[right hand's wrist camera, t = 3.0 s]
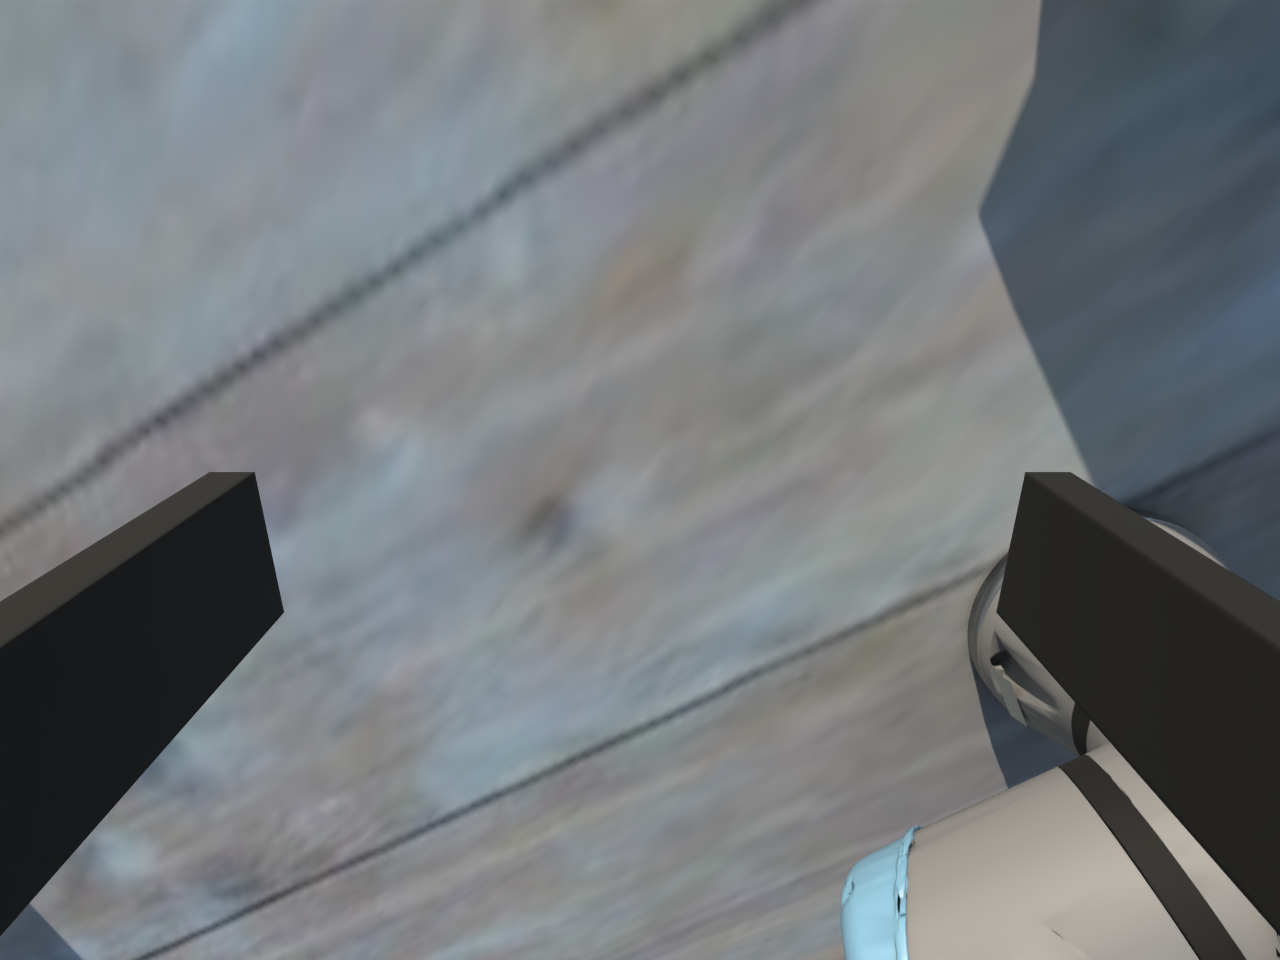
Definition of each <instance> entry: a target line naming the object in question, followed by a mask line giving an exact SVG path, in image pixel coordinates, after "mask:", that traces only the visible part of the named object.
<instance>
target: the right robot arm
mask: <svg viewBox="0 0 1280 960" xmlns="http://www.w3.org/2000/svg"><path fill="white" fill-rule="evenodd" d="M283 613H284V610H283V606H282V601H281V596H280V591H279V587H278V582H277V577H276V572H275V567H274V563H273V558H272V553H271V548H270V544H269V539H268V534H267V529H266V524H265V520H264V515H263V510H262V505H261V501H260V496H259V491H258V486H257V481H256V477H255V472H209V473H208V474H206V475H204V476H203V477H201V478H199V479H198V480H196V481H195V482H193V483H191V484H190V485H188V486H187V487H185V488H183V489H182V490H180V491H178V492H177V493H175V494H174V495H172V496H170V497H169V498H167V499H166V500H164V501H162V502H161V503H159V504H157V505H156V506H154V507H153V508H151V509H149V510H148V511H146V512H145V513H143V514H141V515H140V516H138V517H136V518H135V519H133V520H132V521H130V522H128V523H127V524H125V525H124V526H122V527H120V528H119V529H117V530H115V531H114V532H112V533H111V534H109V535H107V536H106V537H104V538H102V539H101V540H99V541H98V542H96V543H94V544H93V545H91V546H90V547H88V548H86V549H85V550H83V551H81V552H80V553H78V554H77V555H75V556H73V557H72V558H70V559H69V560H67V561H65V562H64V563H62V564H60V565H59V566H57V567H56V568H54V569H52V570H51V571H49V572H48V573H46V574H44V575H43V576H41V577H39V578H38V579H36V580H35V581H33V582H31V583H30V584H28V585H26V586H25V587H23V588H22V589H20V590H18V591H17V592H15V593H14V594H12V595H10V596H9V597H7V598H5V599H4V600H2V601H1V602H0V936H1V935H2V933H3V932H4V931H5V930H6V929H7V928H8V927H9V926H10V924H11V923H12V922H13V921H14V920H15V919H16V918H17V916H18V915H19V914H20V913H21V912H22V911H23V910H24V908H25V907H26V906H27V905H28V904H29V903H30V902H31V900H32V899H33V898H34V897H35V896H36V895H37V894H38V892H39V891H40V890H41V889H42V888H43V887H44V886H45V884H46V883H47V882H48V881H49V880H50V879H51V878H52V876H53V875H54V874H55V873H56V872H57V871H58V870H59V868H60V867H61V866H62V865H63V864H64V863H65V862H66V860H67V859H68V858H69V857H70V856H71V855H72V854H73V852H74V851H75V850H76V849H77V848H78V847H79V846H80V844H81V843H82V842H83V841H84V840H85V839H86V838H87V837H88V835H89V834H90V833H91V832H92V831H93V830H94V829H95V827H96V826H97V825H98V824H99V823H100V822H101V821H102V819H103V818H104V817H105V816H106V815H107V814H108V813H109V811H110V810H111V809H112V808H113V807H114V806H115V805H116V803H117V802H118V801H119V800H120V799H121V798H122V797H123V795H124V794H125V793H126V792H127V791H128V790H129V789H130V787H131V786H132V785H133V784H134V783H135V782H136V781H137V779H138V778H139V777H140V776H141V775H142V774H143V773H144V771H145V770H146V769H147V768H148V767H149V766H150V765H151V763H152V762H153V761H154V760H155V759H156V758H157V757H158V755H159V754H160V753H161V752H162V751H163V750H164V749H165V748H166V746H167V745H168V744H169V743H170V742H171V741H172V740H173V738H174V737H175V736H176V735H177V734H178V733H179V732H180V730H181V729H182V728H183V727H184V726H185V725H186V724H187V722H188V721H189V720H190V719H191V718H192V717H193V716H194V714H195V713H196V712H197V711H198V710H199V709H200V708H201V706H202V705H203V704H204V703H205V702H206V701H207V700H208V698H209V697H210V696H211V695H212V694H213V693H214V692H215V690H216V689H217V688H218V687H219V686H220V685H221V684H222V682H223V681H224V680H225V679H226V678H227V677H228V676H229V674H230V673H231V672H232V671H233V670H234V669H235V668H236V666H237V665H238V664H239V663H240V662H241V661H242V660H243V658H244V657H245V656H246V655H247V654H248V653H249V652H250V651H251V649H252V648H253V647H254V646H255V645H256V644H257V643H258V641H259V640H260V639H261V638H262V637H263V636H264V635H265V633H266V632H267V631H268V630H269V629H270V628H271V627H272V625H273V624H274V623H275V622H276V621H277V620H278V619H279V617H280V616H281V615H282V614H283ZM968 646H969V652H970V656H971V659H972V662H973V665H974V667H975V669H976V671H977V673H978V675H979V676H980V678H981V679H982V680H983V682H984V683H985V685H986V686H987V687H988V689H989V690H990V691H991V693H992V694H993V696H994V697H995V698H996V699H997V700H998V701H999V702H1000V704H1001V705H1003V706H1004V707H1005V708H1006V709H1007V710H1008V711H1009V714H1010V715H1011V716H1012V717H1014V718H1015V719H1016V720H1018V721H1019V722H1021V723H1022V724H1024V725H1025V726H1027V725H1026V724H1028V725H1030V726H1031V727H1033V728H1034V729H1036V730H1037V731H1039V732H1041V733H1042V734H1044V735H1045V736H1047V737H1048V738H1050V739H1052V740H1053V741H1055V742H1056V743H1058V744H1059V745H1061V746H1063V747H1064V748H1066V749H1067V750H1069V751H1070V752H1072V753H1074V754H1075V755H1077V756H1078V758H1076V759H1074V760H1071V761H1069V762H1067V763H1065V764H1063V765H1061V766H1058V767H1055V768H1053V769H1051V770H1049V771H1047V772H1044V773H1042V774H1040V775H1038V776H1036V777H1033V778H1031V779H1029V780H1027V781H1025V782H1022V783H1020V784H1018V785H1016V786H1014V787H1011V788H1009V789H1007V790H1005V791H1003V792H1000V793H998V794H996V795H994V796H992V797H989V798H987V799H985V800H983V801H981V802H978V803H976V804H974V805H972V806H970V807H967V808H965V809H963V810H961V811H959V812H956V813H954V814H952V815H950V816H948V817H945V818H943V819H941V820H939V821H937V822H934V823H932V824H930V825H928V826H926V827H921V826H920V825H919V826H915V827H912V828H910V829H909V830H908V831H907V832H906V833H905V835H904V837H902V838H900V839H898V840H897V841H895V842H893V843H891V844H889V845H887V846H885V847H883V848H882V849H880V850H878V851H876V852H874V853H872V854H870V855H868V856H867V857H865V858H863V859H861V860H860V861H859V862H857V863H856V864H855V865H854V867H853V868H852V869H851V871H850V872H849V874H848V876H847V878H846V880H845V883H844V887H843V891H842V898H841V930H842V939H843V947H844V954H845V960H1280V602H1279V601H1278V600H1276V599H1275V598H1273V597H1271V596H1270V595H1268V594H1266V593H1265V592H1263V591H1262V590H1260V589H1258V588H1257V587H1255V586H1254V585H1252V584H1250V583H1249V582H1247V581H1245V580H1244V579H1242V578H1241V577H1239V576H1237V575H1236V574H1234V573H1232V572H1231V571H1230V569H1229V568H1228V567H1227V565H1226V564H1225V562H1224V561H1223V560H1222V559H1221V557H1220V556H1219V555H1218V554H1217V553H1216V552H1215V551H1214V550H1213V549H1212V548H1211V547H1210V546H1209V545H1208V544H1207V543H1206V542H1204V541H1203V540H1202V539H1201V538H1200V537H1198V536H1196V535H1195V534H1193V533H1191V532H1190V531H1188V530H1186V529H1185V528H1183V527H1181V526H1180V525H1178V524H1176V523H1175V522H1173V521H1171V520H1169V519H1167V518H1165V517H1162V516H1159V515H1156V514H1153V513H1150V512H1145V511H1141V510H1133V509H1129V508H1127V507H1126V506H1124V505H1123V504H1121V503H1119V502H1118V501H1116V500H1114V499H1113V498H1111V497H1110V496H1108V495H1106V494H1105V493H1103V492H1102V491H1100V490H1098V489H1097V488H1095V487H1093V486H1092V485H1090V484H1089V483H1087V482H1085V481H1084V480H1082V479H1080V478H1079V477H1077V476H1076V475H1074V474H1072V473H1071V472H1025V477H1024V481H1023V486H1022V491H1021V496H1020V501H1019V505H1018V510H1017V515H1016V520H1015V524H1014V529H1013V534H1012V539H1011V544H1010V548H1009V552H1008V553H1007V554H1006V555H1005V556H1004V557H1003V558H1002V559H1001V560H1000V562H999V563H998V564H997V565H996V566H995V567H994V569H993V570H992V571H991V573H990V574H989V575H988V577H987V578H986V580H985V581H984V583H983V585H982V586H981V588H980V590H979V592H978V594H977V596H976V599H975V601H974V604H973V607H972V610H971V614H970V618H969V624H968Z"/></svg>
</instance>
